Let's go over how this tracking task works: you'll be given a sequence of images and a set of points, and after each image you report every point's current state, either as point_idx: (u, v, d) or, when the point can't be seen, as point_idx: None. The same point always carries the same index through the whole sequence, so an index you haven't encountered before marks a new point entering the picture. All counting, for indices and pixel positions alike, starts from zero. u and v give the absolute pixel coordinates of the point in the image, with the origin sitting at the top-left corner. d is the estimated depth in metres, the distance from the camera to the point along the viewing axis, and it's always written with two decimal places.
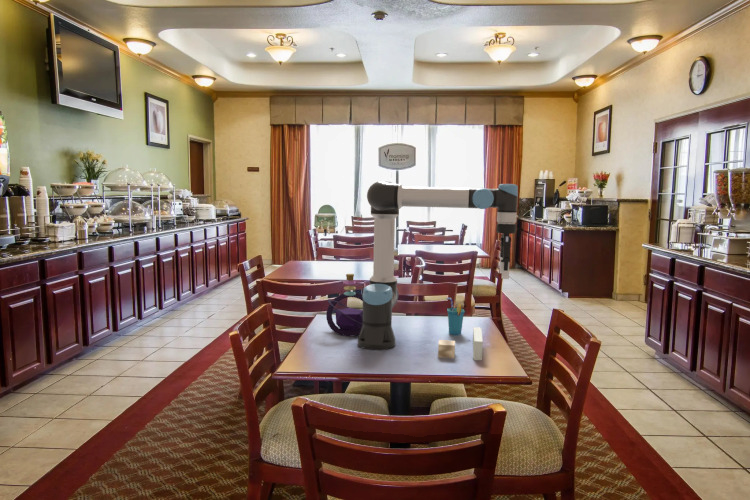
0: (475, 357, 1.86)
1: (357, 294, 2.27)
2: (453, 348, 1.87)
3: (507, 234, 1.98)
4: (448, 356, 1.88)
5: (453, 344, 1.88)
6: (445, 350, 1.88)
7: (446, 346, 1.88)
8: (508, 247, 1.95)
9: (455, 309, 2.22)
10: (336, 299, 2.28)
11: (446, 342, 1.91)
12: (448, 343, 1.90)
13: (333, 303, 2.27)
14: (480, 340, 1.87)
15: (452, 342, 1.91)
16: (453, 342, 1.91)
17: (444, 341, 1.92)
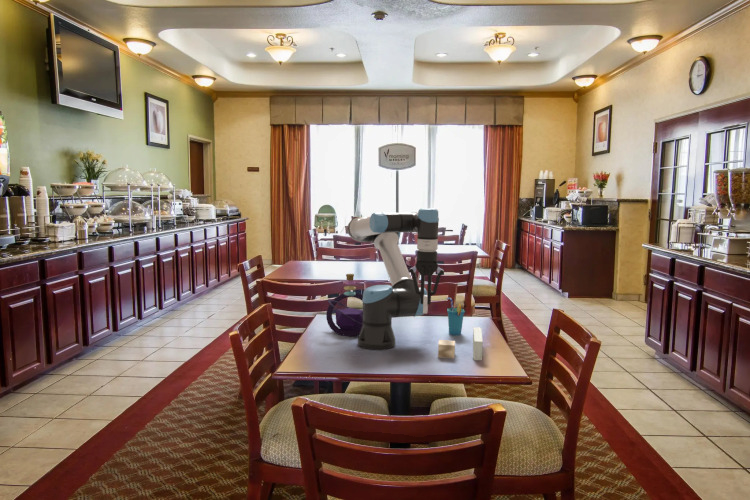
0: (475, 357, 1.86)
1: (357, 294, 2.27)
2: (453, 348, 1.87)
3: None
4: (448, 356, 1.88)
5: (453, 344, 1.88)
6: (445, 350, 1.88)
7: (446, 346, 1.88)
8: (413, 280, 1.90)
9: (455, 309, 2.22)
10: (336, 299, 2.28)
11: (446, 342, 1.91)
12: (448, 343, 1.90)
13: (333, 303, 2.27)
14: (480, 340, 1.87)
15: (452, 342, 1.91)
16: (453, 342, 1.91)
17: (444, 341, 1.92)
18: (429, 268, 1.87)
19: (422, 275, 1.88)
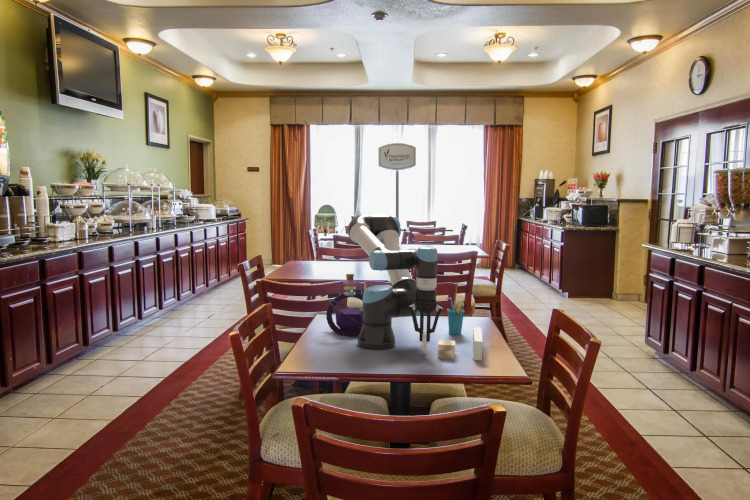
0: (475, 357, 1.86)
1: (357, 294, 2.27)
2: (453, 348, 1.87)
3: (415, 299, 1.91)
4: (448, 356, 1.88)
5: (453, 344, 1.88)
6: (445, 350, 1.88)
7: (446, 346, 1.88)
8: None
9: (455, 309, 2.22)
10: (336, 299, 2.28)
11: (446, 342, 1.91)
12: (448, 343, 1.90)
13: (333, 303, 2.27)
14: (480, 340, 1.87)
15: (452, 342, 1.91)
16: (453, 342, 1.91)
17: (444, 341, 1.92)
18: (428, 306, 1.88)
19: (421, 313, 1.89)
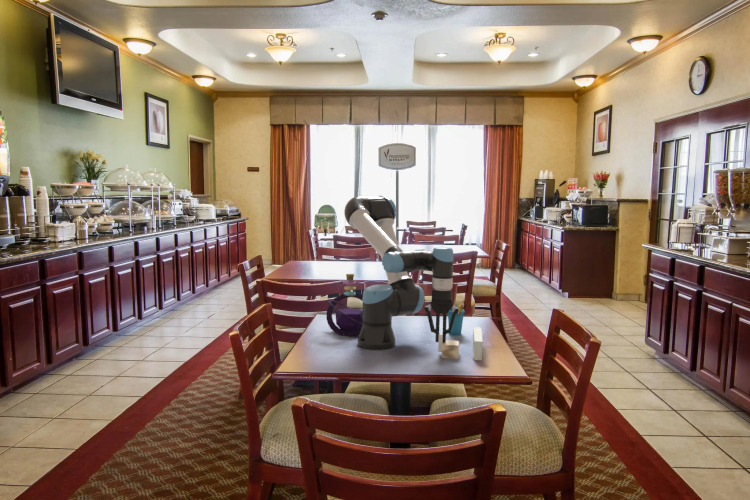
0: (475, 357, 1.86)
1: (357, 294, 2.27)
2: (457, 348, 1.87)
3: None
4: (452, 356, 1.88)
5: (457, 344, 1.88)
6: (449, 350, 1.88)
7: (449, 346, 1.88)
8: (428, 318, 1.90)
9: None
10: (336, 299, 2.28)
11: (450, 342, 1.91)
12: (452, 343, 1.90)
13: (333, 303, 2.27)
14: (480, 340, 1.87)
15: (456, 342, 1.90)
16: (457, 342, 1.91)
17: (448, 341, 1.92)
18: (444, 307, 1.87)
19: (437, 314, 1.88)
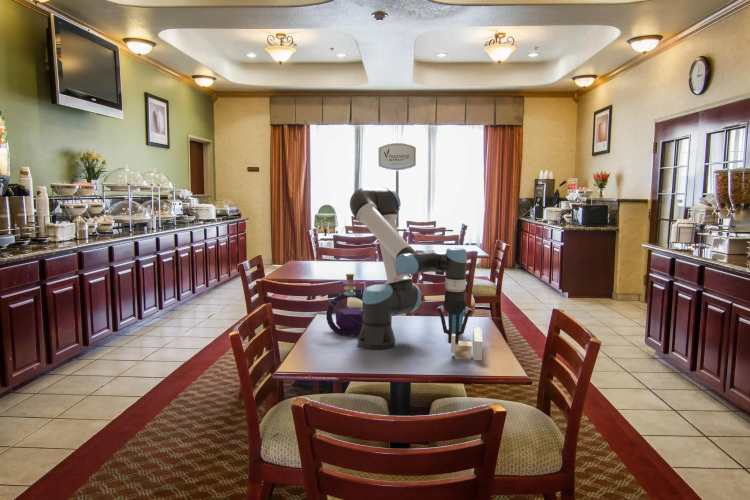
0: (475, 357, 1.86)
1: (357, 294, 2.27)
2: (470, 349, 1.86)
3: None
4: (465, 357, 1.87)
5: (470, 345, 1.87)
6: (461, 351, 1.87)
7: (462, 347, 1.87)
8: (441, 319, 1.89)
9: None
10: (336, 299, 2.28)
11: (462, 342, 1.90)
12: (464, 343, 1.89)
13: (333, 303, 2.27)
14: (480, 340, 1.87)
15: (469, 343, 1.90)
16: (469, 343, 1.90)
17: (460, 342, 1.91)
18: (457, 308, 1.86)
19: (450, 315, 1.87)
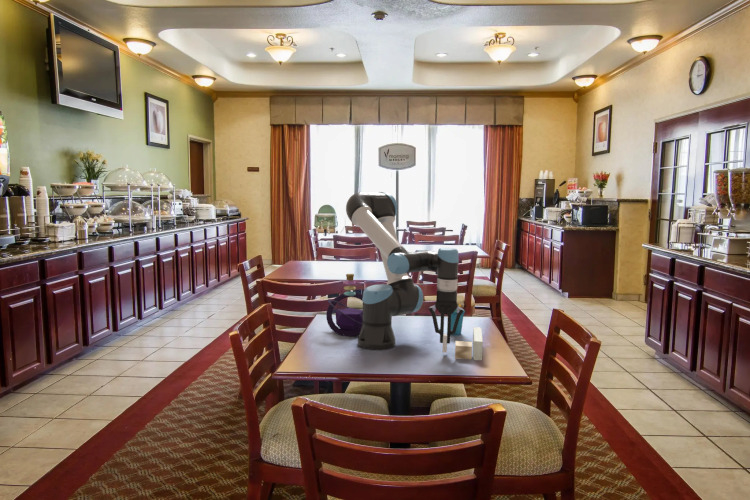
0: (475, 357, 1.86)
1: (357, 294, 2.27)
2: (470, 349, 1.86)
3: (436, 300, 1.89)
4: (465, 357, 1.87)
5: (470, 345, 1.87)
6: (462, 351, 1.87)
7: (463, 347, 1.87)
8: None
9: None
10: (336, 299, 2.28)
11: (462, 343, 1.90)
12: (465, 344, 1.89)
13: (333, 303, 2.27)
14: (480, 340, 1.87)
15: (469, 343, 1.90)
16: (470, 343, 1.90)
17: (461, 342, 1.91)
18: (449, 308, 1.87)
19: (442, 314, 1.88)
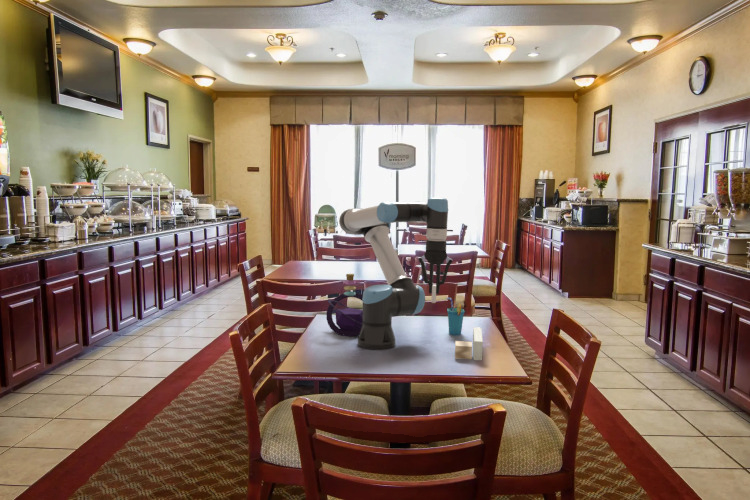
0: (475, 357, 1.86)
1: (357, 294, 2.27)
2: (470, 349, 1.86)
3: None
4: (465, 357, 1.87)
5: (470, 345, 1.87)
6: (462, 351, 1.87)
7: (463, 347, 1.87)
8: (422, 269, 1.90)
9: (455, 309, 2.22)
10: (336, 299, 2.28)
11: (462, 343, 1.90)
12: (465, 344, 1.89)
13: (333, 303, 2.27)
14: (480, 340, 1.87)
15: (469, 343, 1.90)
16: (470, 343, 1.90)
17: (461, 342, 1.91)
18: (438, 257, 1.87)
19: (431, 264, 1.88)
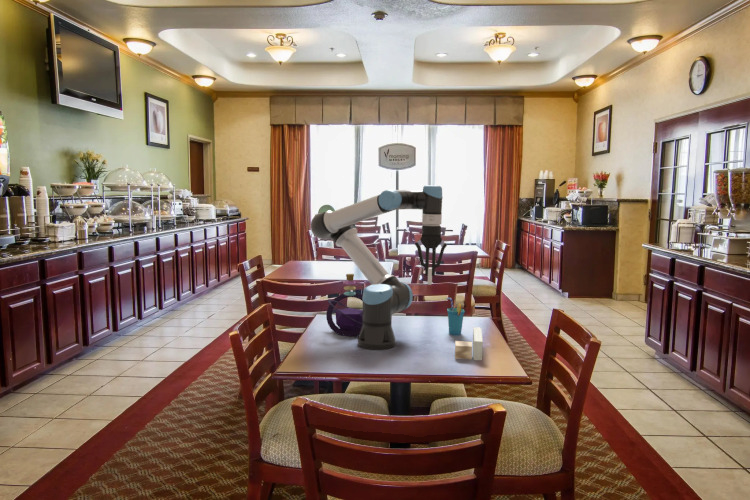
0: (475, 357, 1.86)
1: (357, 294, 2.27)
2: (470, 349, 1.86)
3: None
4: (465, 357, 1.87)
5: (471, 345, 1.87)
6: (462, 351, 1.87)
7: (463, 347, 1.87)
8: None
9: (455, 309, 2.22)
10: (336, 299, 2.28)
11: (462, 343, 1.90)
12: (465, 344, 1.89)
13: (333, 303, 2.27)
14: (480, 340, 1.87)
15: (469, 343, 1.90)
16: (470, 343, 1.90)
17: (461, 342, 1.91)
18: (433, 241, 1.98)
19: (427, 248, 1.99)
